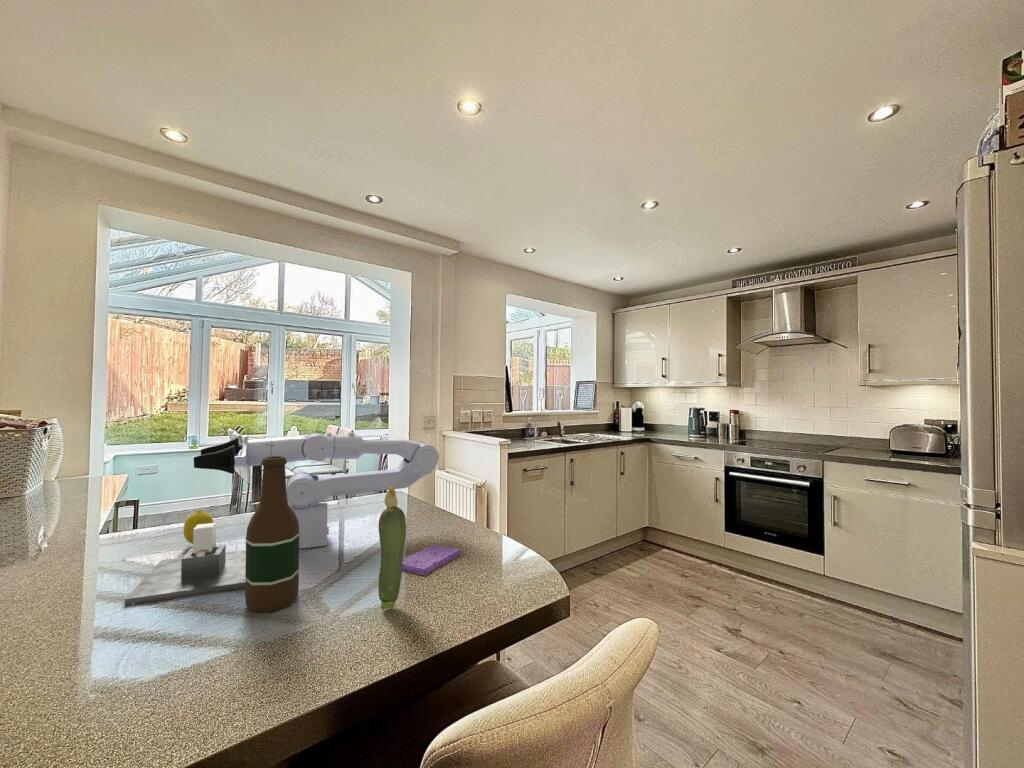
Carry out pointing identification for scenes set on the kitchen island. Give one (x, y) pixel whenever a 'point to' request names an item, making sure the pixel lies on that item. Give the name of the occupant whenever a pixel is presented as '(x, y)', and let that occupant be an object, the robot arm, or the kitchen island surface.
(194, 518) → the lemon
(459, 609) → the kitchen island surface
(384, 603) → the vegetable
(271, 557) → the beer bottle
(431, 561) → the sponges
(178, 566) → the stand base
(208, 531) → the post
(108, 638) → the kitchen island surface
